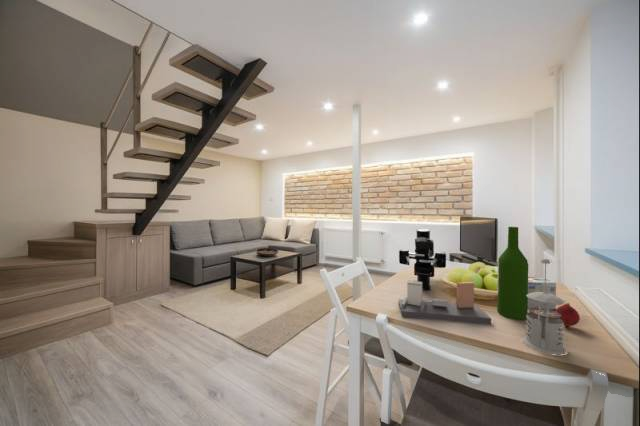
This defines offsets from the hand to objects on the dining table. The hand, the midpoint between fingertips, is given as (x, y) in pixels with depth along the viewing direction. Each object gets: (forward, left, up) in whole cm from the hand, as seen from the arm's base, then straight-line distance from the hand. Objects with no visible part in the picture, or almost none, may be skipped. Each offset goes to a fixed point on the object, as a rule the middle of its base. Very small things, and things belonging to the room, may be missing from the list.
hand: (420, 265), depth 100 cm
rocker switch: (+5, +7, -14) cm, 17 cm away
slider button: (+5, -2, -14) cm, 15 cm away
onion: (-1, +45, -17) cm, 48 cm away
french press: (+18, +33, -17) cm, 41 cm away
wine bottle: (-5, +31, -17) cm, 36 cm away
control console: (+5, +7, -16) cm, 19 cm away
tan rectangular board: (+1, +16, -14) cm, 21 cm away
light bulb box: (-19, +42, -17) cm, 49 cm away
